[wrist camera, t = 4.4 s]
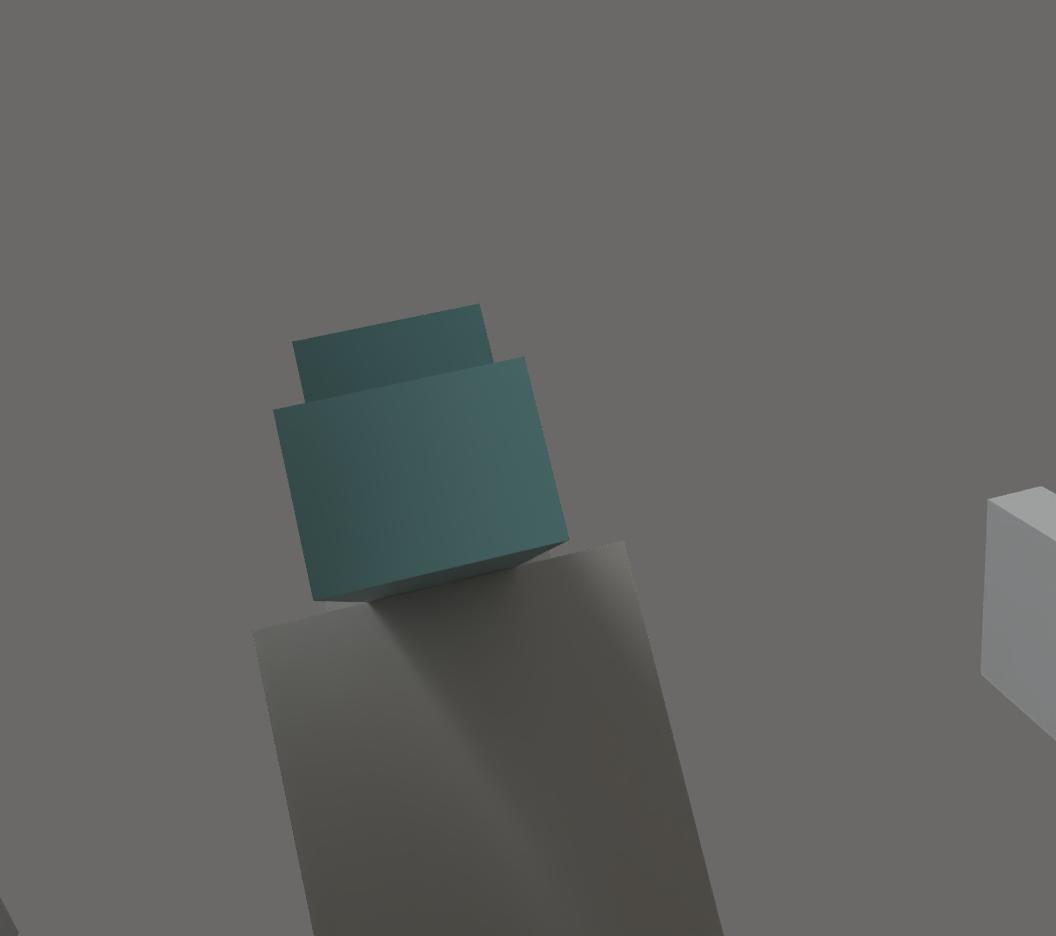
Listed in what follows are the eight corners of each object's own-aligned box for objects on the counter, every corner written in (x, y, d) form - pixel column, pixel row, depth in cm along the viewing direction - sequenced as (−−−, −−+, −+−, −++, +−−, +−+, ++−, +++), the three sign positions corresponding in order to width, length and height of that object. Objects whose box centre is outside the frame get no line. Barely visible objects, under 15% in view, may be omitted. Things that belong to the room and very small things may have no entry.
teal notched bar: (569, 539, 15) (509, 297, 15) (313, 601, 14) (259, 348, 15) (487, 581, 40) (466, 491, 41) (396, 603, 40) (375, 512, 40)
